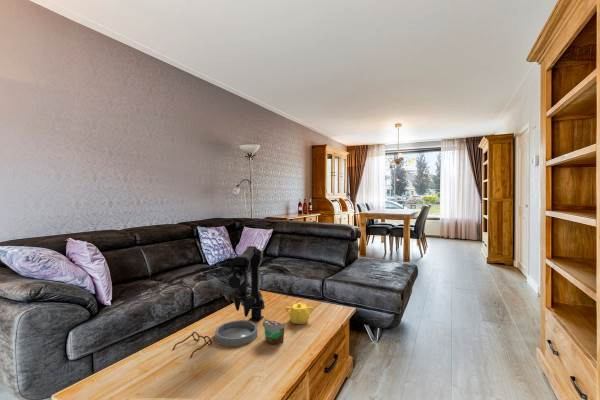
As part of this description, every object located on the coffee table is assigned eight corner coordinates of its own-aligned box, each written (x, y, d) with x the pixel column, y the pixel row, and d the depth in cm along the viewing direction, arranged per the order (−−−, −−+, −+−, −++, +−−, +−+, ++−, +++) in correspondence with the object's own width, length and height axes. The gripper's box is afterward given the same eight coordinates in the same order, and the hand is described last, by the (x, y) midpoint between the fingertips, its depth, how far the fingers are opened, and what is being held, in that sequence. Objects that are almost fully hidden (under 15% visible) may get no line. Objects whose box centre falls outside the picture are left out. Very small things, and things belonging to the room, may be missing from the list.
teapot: (316, 322, 167) (316, 304, 167) (299, 329, 158) (299, 310, 158) (300, 315, 177) (300, 298, 177) (283, 321, 169) (283, 303, 169)
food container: (257, 342, 144) (257, 322, 144) (264, 337, 149) (264, 317, 149) (279, 348, 138) (279, 327, 138) (285, 342, 144) (285, 322, 144)
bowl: (231, 324, 165) (231, 318, 164) (264, 330, 157) (264, 323, 157) (206, 341, 145) (206, 334, 145) (243, 349, 138) (243, 342, 138)
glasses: (212, 346, 141) (212, 336, 141) (189, 359, 130) (189, 348, 130) (193, 340, 148) (193, 330, 148) (170, 351, 137) (170, 341, 137)
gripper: (218, 280, 147) (218, 311, 147) (234, 290, 132) (234, 324, 132) (238, 276, 154) (239, 306, 154) (256, 285, 139) (256, 318, 139)
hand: (241, 313), depth 145 cm, fingers open, 9 cm apart
